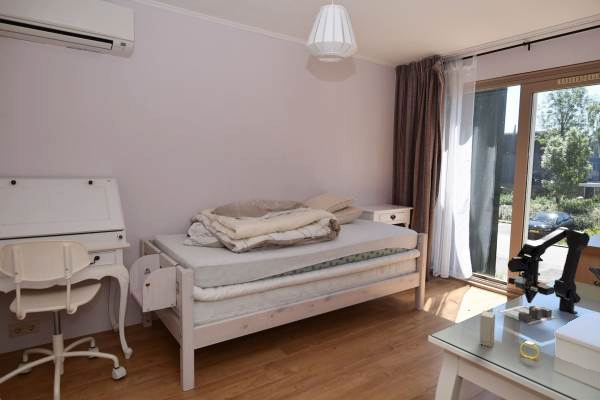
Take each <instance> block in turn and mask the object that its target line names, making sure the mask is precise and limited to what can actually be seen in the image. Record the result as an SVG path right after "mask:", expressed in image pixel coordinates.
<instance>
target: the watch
mask: <svg viewBox="0 0 600 400" xmlns="http://www.w3.org/2000/svg"><path fill="white" fill-rule="evenodd" d="M523 346H530V347H533V348H534V349H535V351H536V352H537V353H536V355H535V356H530V355H526V354H524V352H523V351H522V347H523ZM519 352H520V355H521V356H522V357H524V358H527V359H530V360H536V359H537V358H538V357H539V354H540V351H539V348H538V346H537V345H535V342H533V341H531V340H526V341H525V342H523V343H521V344H520V346H519Z"/></svg>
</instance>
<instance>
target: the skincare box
mask: <svg viewBox="0 0 600 400" xmlns="http://www.w3.org/2000/svg"><path fill="white" fill-rule="evenodd" d="M479 320H480V322H479V323H480V328H479V345H480V344H483V345H482V346H484V345H486V346H485V347H487V346H489V347H488V348H492V346H493V345H494V342H495V329H496V327H495V325H496V312H492V311H486V310H483V311H482V312H481V314H480V319H479Z"/></svg>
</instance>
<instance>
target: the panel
mask: <svg viewBox="0 0 600 400" xmlns="http://www.w3.org/2000/svg"><path fill="white" fill-rule="evenodd" d="M529 307H530V306H526V305H519V306H513V307H510V308H506V309H505V308H504V309H502V310H498V311H497V312H498V313H500V314H503V315H505V316H507V317H510V318H511V319H512V318H513V319H515V320H517V321H519V322H522V323H524V324H527V325H530V326H532V325H535V324H539V323H543V322H546V321H550V320H554V319H557V317H556V316H553V315H552V314H553V310H552V309H551V308H548V307H545V306H540V307H539V308H541V309H542V318H541V319H538V320H537V319H534V318H532V315H530V314H529Z"/></svg>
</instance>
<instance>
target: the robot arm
mask: <svg viewBox="0 0 600 400" xmlns="http://www.w3.org/2000/svg"><path fill="white" fill-rule="evenodd" d="M564 239H565V240H566V244H567V247H568V249H567V253H566V257H565V262H564V265H563V270H562V273H561V277H559V279H554V285H553V286H549V285H547V284H544V285H540V284H541V283H540V281H539V276H541V273H540V272H539V267H540V262H544V259H543V258H542V257H541V256H542V255H544V254H545V253H546V250H547V249H549V248H550V247H552V246H554V245H556V244H557V243H559V242H560V241H563V240H564ZM590 239H591V237H590V235H589V233H587V232H584V231H579V230H575V229H571V228H568V227H562V226H560V227H558V228H557V229H556V230H554V231H552V232H549V234H547V235H545V236H543V237H541V238H539V239H537V240H532V241H528V242H526V243H524V244H523V245H522V247H521V249H520V250H519V252H518V254H516V257H514V256H512V257H511V259H510V260H509V261H508V262H507V268H508V270H509V272H511V273H521V274H520V276H517V275H514V276H510V277H509V278H508V280H507V283H508V284H510V285H515V288H516V289H521V290H522V291H523V293H524V296H525V298H526V301H527V303H528V304H531V303H532V301H533V300H534V299H535V297H536V296H537V294H541V295H544V296H549V295H553V294H555V297H557V298H559V305H558V308H557V309H558V311H562V312H563V313H568V314H571V315H575V314H578V311H577V310H575V304H578V303H580V302H581V299H582V297H580V296H579V294H578V293H577V285H576V282H575V278H576V274H577V271H578V270H577V269H578V266H579V263H580V257H581V253H582V252H583V250H585V249H586V248H587V247H588V245H589V242H590Z"/></svg>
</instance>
